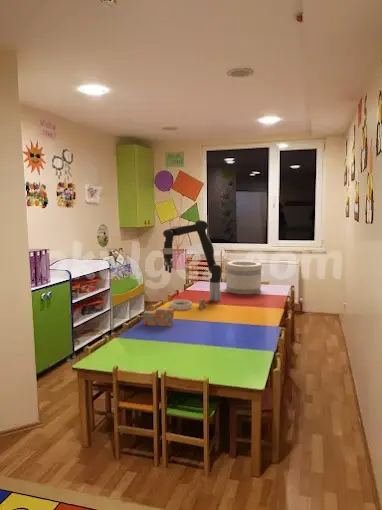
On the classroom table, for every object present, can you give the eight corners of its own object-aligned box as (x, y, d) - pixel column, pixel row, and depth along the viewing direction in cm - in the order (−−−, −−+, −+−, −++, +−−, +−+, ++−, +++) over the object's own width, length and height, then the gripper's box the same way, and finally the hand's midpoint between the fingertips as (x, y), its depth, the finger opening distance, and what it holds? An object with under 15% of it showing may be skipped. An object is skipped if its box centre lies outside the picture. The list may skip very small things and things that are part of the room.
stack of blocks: (143, 325, 307) (143, 309, 306) (145, 322, 314) (145, 306, 312) (172, 326, 305) (172, 310, 304) (173, 323, 312) (173, 307, 310)
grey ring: (186, 303, 369) (186, 299, 369) (194, 308, 353) (195, 304, 352) (167, 305, 363) (167, 300, 362) (174, 310, 346) (174, 305, 346)
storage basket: (267, 292, 416) (268, 265, 412) (236, 295, 403) (237, 267, 399) (249, 285, 448) (250, 260, 444) (220, 287, 435) (220, 261, 431)
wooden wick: (203, 307, 359) (203, 299, 358) (205, 308, 356) (205, 300, 355) (198, 307, 358) (199, 299, 357) (200, 308, 354) (200, 300, 353)
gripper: (175, 254, 353) (175, 273, 355) (169, 251, 366) (169, 270, 368) (166, 254, 350) (166, 273, 353) (161, 252, 363) (161, 270, 366)
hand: (168, 271), depth 360 cm, fingers open, 8 cm apart
